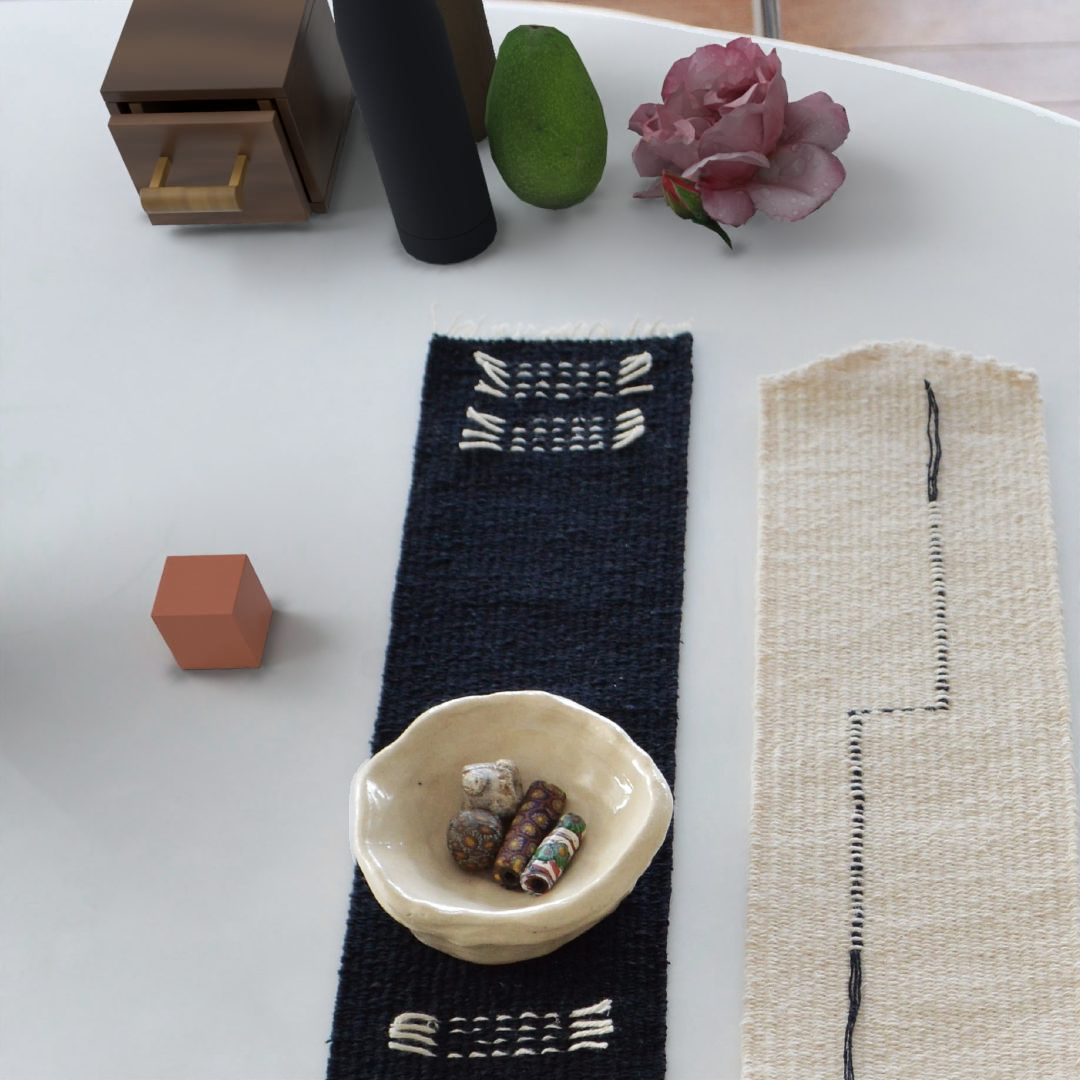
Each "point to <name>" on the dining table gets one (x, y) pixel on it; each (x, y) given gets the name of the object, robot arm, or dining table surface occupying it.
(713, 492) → the dining table surface
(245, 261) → the dining table surface
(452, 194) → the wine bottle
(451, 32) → the pillar candle
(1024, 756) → the dining table surface
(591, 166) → the fruit
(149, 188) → the drawer
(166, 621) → the block
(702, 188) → the flower
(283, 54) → the cabinet
